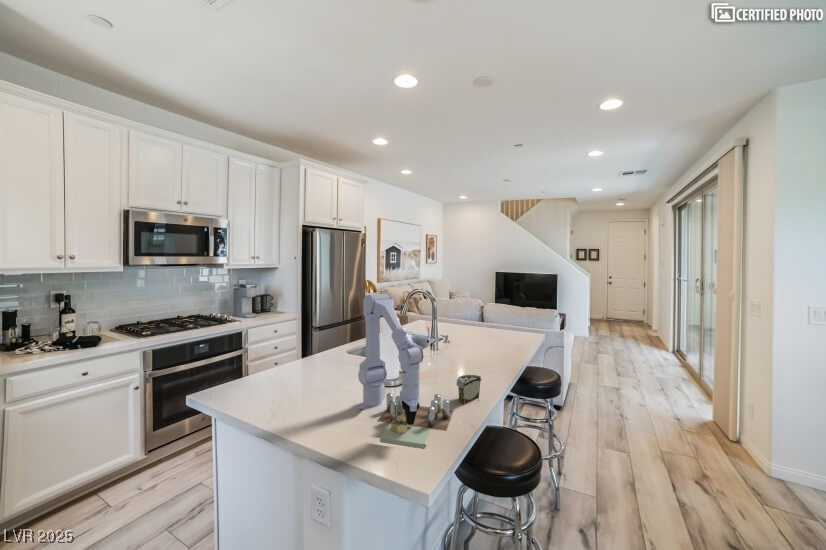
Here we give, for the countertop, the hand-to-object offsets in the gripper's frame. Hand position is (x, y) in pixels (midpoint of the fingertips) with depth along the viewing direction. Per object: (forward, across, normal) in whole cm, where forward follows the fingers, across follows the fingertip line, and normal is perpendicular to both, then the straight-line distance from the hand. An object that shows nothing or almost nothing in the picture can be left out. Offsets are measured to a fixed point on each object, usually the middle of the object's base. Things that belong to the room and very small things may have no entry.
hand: (410, 423), depth 116 cm
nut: (+1, +2, -4) cm, 4 cm away
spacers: (+1, -8, +3) cm, 8 cm away
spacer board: (+2, -8, +3) cm, 9 cm away
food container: (+3, -20, +25) cm, 32 cm away
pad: (+2, +4, -2) cm, 5 cm away
